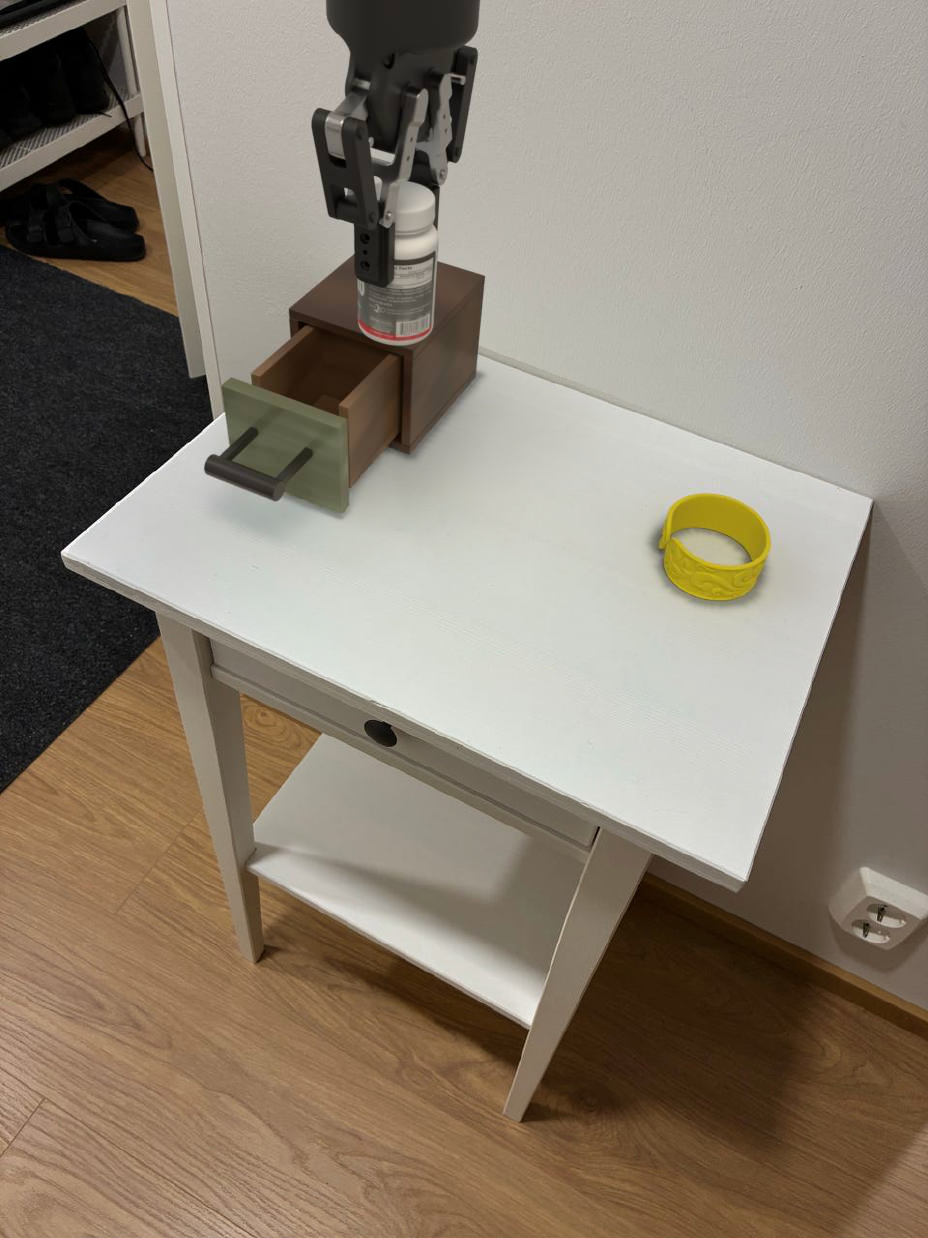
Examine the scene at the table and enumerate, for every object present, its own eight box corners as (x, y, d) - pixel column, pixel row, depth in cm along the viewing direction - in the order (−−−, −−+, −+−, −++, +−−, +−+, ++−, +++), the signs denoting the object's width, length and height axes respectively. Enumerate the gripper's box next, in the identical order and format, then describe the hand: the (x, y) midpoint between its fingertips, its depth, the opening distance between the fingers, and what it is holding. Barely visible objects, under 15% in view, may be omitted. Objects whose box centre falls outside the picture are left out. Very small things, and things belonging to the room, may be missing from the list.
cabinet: (409, 455, 77) (413, 350, 70) (295, 413, 80) (288, 308, 72) (476, 376, 85) (485, 275, 78) (370, 340, 87) (370, 239, 80)
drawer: (302, 559, 67) (295, 472, 61) (189, 513, 69) (173, 425, 64) (413, 431, 78) (417, 346, 72) (313, 394, 80) (308, 309, 74)
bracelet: (741, 524, 74) (754, 492, 72) (771, 601, 69) (786, 569, 67) (649, 524, 74) (659, 491, 71) (672, 602, 68) (684, 569, 66)
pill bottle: (368, 301, 62) (368, 170, 56) (440, 313, 62) (448, 183, 56) (349, 340, 59) (347, 205, 53) (424, 353, 59) (431, 219, 53)
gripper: (408, -125, 50) (399, 200, 63) (247, -69, 41) (275, 296, 54) (540, -96, 48) (503, 232, 61) (401, -32, 39) (392, 337, 52)
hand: (396, 261), depth 57 cm, fingers closed on pill bottle, 4 cm apart
